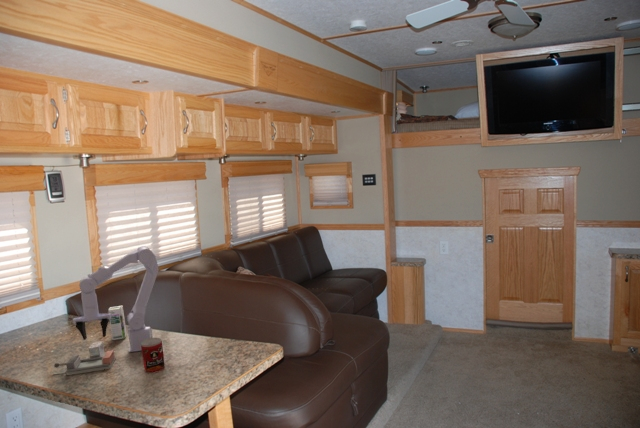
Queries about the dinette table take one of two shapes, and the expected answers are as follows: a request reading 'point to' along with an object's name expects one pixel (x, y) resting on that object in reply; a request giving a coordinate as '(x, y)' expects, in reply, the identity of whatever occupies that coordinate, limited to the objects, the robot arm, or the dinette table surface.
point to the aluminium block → (96, 349)
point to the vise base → (84, 365)
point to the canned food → (152, 355)
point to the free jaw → (108, 357)
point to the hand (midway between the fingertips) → (94, 337)
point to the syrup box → (117, 322)
